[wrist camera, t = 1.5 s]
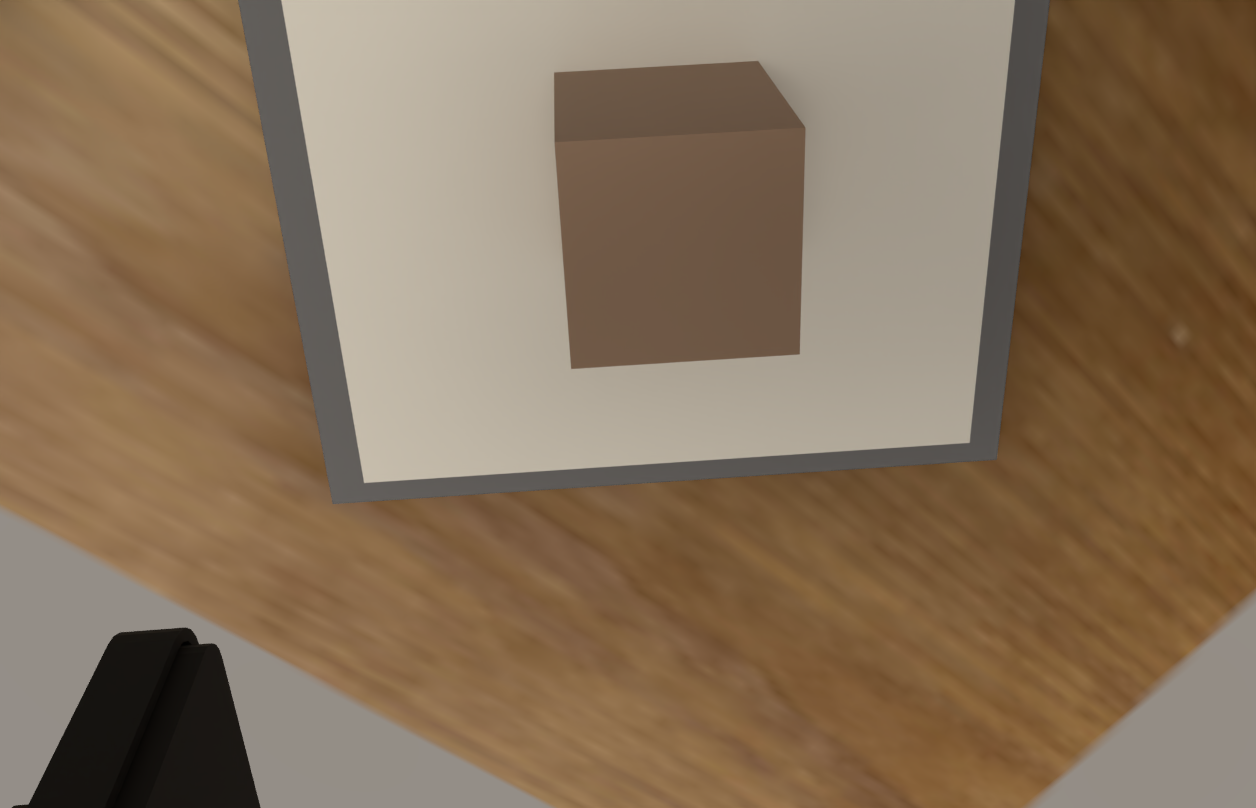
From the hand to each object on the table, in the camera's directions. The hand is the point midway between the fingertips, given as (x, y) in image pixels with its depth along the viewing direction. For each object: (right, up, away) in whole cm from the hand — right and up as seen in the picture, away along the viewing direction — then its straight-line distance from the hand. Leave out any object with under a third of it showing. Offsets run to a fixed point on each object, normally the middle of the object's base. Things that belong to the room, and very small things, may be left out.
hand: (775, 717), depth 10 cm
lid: (-1, +8, +15) cm, 17 cm away
